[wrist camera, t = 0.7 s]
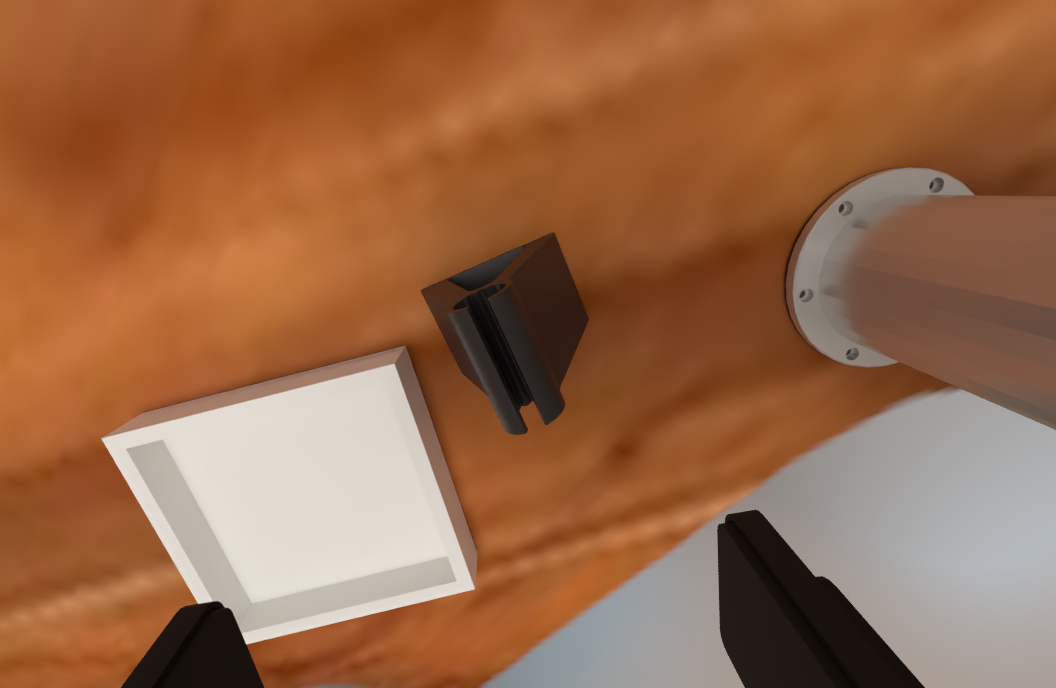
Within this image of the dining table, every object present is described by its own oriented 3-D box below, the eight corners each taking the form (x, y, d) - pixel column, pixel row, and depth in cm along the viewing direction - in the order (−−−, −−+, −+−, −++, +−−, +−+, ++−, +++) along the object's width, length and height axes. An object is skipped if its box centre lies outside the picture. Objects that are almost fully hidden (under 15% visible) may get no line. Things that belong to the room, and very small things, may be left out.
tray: (405, 345, 32) (394, 363, 28) (477, 553, 37) (475, 589, 34) (142, 412, 32) (101, 438, 29) (249, 608, 37) (225, 649, 34)
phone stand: (461, 370, 33) (439, 468, 21) (421, 288, 31) (373, 347, 19) (587, 318, 32) (635, 390, 20) (553, 231, 30) (585, 257, 19)
